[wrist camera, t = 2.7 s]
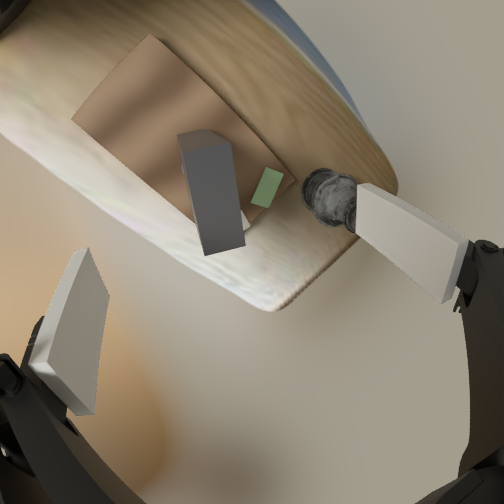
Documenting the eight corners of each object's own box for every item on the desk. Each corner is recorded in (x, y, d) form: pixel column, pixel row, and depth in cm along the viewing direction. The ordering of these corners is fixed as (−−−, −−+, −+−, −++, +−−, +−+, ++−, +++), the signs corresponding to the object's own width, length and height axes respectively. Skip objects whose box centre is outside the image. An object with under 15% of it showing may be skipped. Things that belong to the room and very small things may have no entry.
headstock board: (75, 118, 20) (70, 119, 19) (151, 37, 19) (150, 33, 17) (222, 241, 31) (224, 247, 30) (289, 175, 29) (295, 179, 28)
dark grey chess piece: (329, 155, 29) (405, 189, 19) (351, 193, 33) (420, 238, 23) (289, 187, 30) (352, 237, 20) (314, 224, 33) (375, 280, 23)
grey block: (175, 134, 23) (180, 153, 14) (206, 128, 23) (232, 142, 15) (196, 237, 28) (214, 303, 19) (224, 230, 28) (254, 292, 20)
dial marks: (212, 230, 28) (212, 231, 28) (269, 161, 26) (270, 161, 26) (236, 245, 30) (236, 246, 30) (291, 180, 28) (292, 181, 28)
